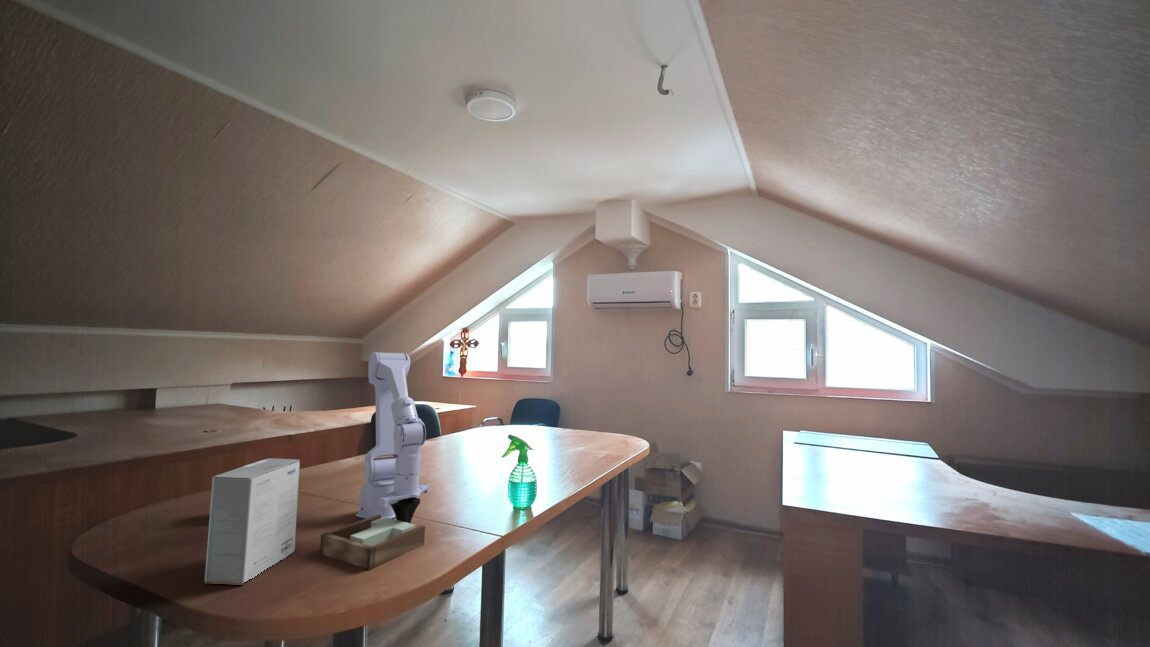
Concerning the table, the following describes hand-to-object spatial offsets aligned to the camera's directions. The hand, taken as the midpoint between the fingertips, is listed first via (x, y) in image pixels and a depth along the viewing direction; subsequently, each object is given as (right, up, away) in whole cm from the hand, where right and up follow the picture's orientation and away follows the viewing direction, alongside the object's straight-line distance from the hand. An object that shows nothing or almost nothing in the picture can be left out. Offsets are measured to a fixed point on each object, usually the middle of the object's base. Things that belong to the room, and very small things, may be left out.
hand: (403, 530), depth 111 cm
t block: (-3, -1, -7) cm, 8 cm away
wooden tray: (-4, -1, -7) cm, 8 cm away
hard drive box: (-24, +1, -19) cm, 30 cm away
